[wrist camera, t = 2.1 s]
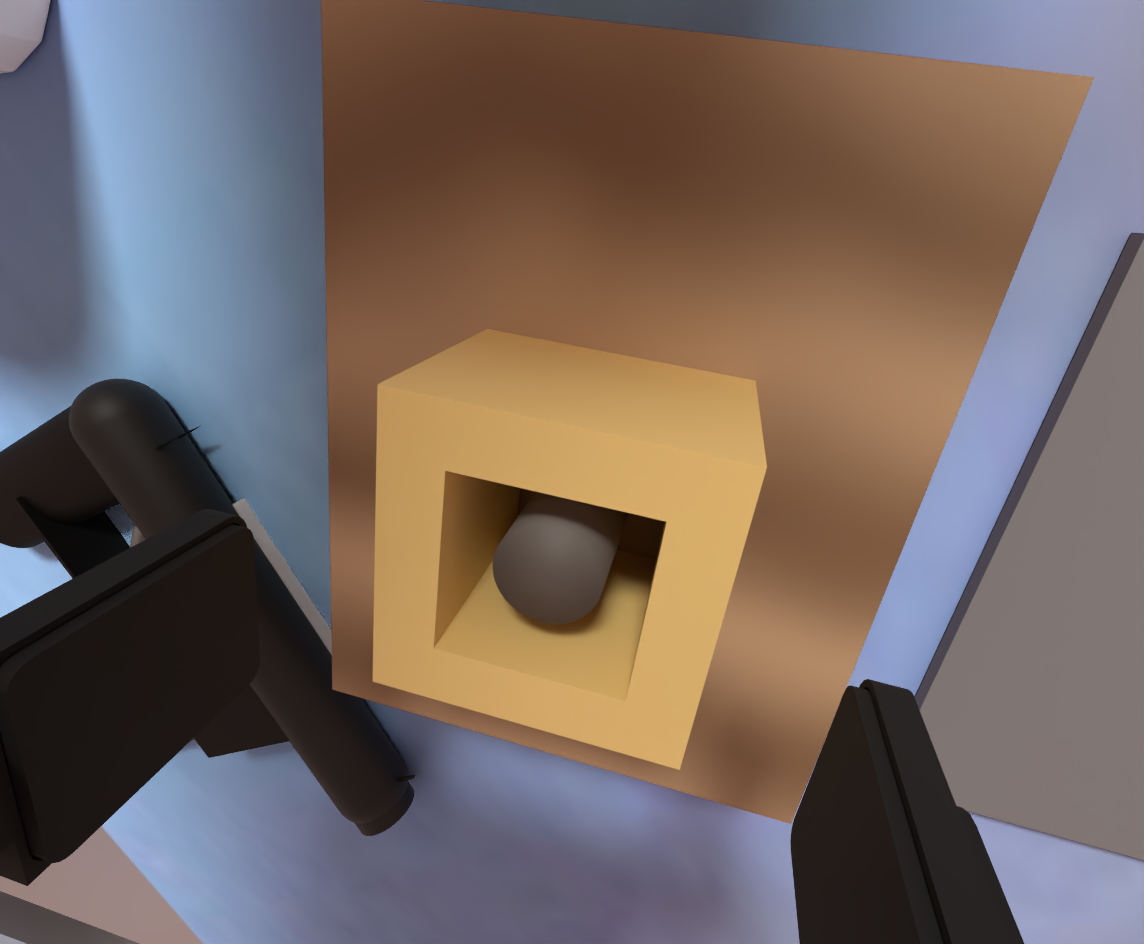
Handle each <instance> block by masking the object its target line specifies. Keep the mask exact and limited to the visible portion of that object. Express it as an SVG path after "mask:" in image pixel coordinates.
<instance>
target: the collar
mask: <svg viewBox="0 0 1144 944" xmlns="http://www.w3.org/2000/svg"><path fill="white" fill-rule="evenodd" d="M766 469H767V463H766V456H765V448H764V440H763V433H762V425H761V417H760V410H759V402H758V395H757V387H756V381H755V380H750V379H744V378H739V377H734V376H729V375H724V374H719V373H713V372H708V371H703V370H698V369H693V368H687V367H682V366H677V365H672V364H667V363H662V362H656V361H651V360H646V359H641V358H636V357H631V356H625V355H620V354H615V353H610V352H605V351H600V350H594V349H589V348H584V347H579V346H574V345H569V344H563V343H558V342H553V341H548V340H543V339H537V338H532V337H527V336H522V335H517V334H512V333H506V332H501V331H496V330H491V329H486V330H484V331H482V332H480V333H478V334H476V335H474V336H472V337H470V338H468V339H466V340H464V341H462V342H460V343H458V344H456V345H454V346H452V347H450V348H448V349H446V350H444V351H442V352H441V353H439V354H437V355H435V356H433V357H431V358H429V359H427V360H425V361H423V362H421V363H419V364H417V365H415V366H413V367H411V368H409V369H407V370H405V371H403V372H401V373H399V374H397V375H395V376H393V377H391V378H389V379H387V380H385V381H383V382H381V383H379V384H378V390H377V450H376V509H375V568H374V627H373V682H376V683H379V684H383V685H386V686H390V687H393V688H397V689H400V690H404V691H407V692H411V693H414V694H418V695H421V696H425V697H428V698H432V699H435V700H439V701H442V702H445V703H449V704H452V705H456V706H459V707H463V708H466V709H470V710H473V711H477V712H480V713H484V714H487V715H491V716H494V717H498V718H501V719H504V720H508V721H511V722H515V723H518V724H522V725H525V726H529V727H532V728H536V729H539V730H543V731H546V732H550V733H553V734H557V735H560V736H563V737H567V738H570V739H574V740H577V741H581V742H584V743H588V744H591V745H595V746H598V747H602V748H605V749H609V750H612V751H616V752H619V753H623V754H626V755H629V756H633V757H636V758H640V759H643V760H647V761H650V762H654V763H657V764H661V765H664V766H668V767H671V768H675V769H678V770H680V767H681V763H682V760H683V757H684V753H685V750H686V746H687V743H688V739H689V736H690V732H691V729H692V725H693V722H694V718H695V715H696V712H697V708H698V705H699V701H700V698H701V694H702V691H703V687H704V684H705V680H706V677H707V673H708V670H709V666H710V663H711V660H712V656H713V653H714V649H715V646H716V642H717V639H718V635H719V632H720V628H721V625H722V621H723V618H724V615H725V611H726V608H727V604H728V601H729V597H730V594H731V590H732V587H733V583H734V580H735V576H736V573H737V570H738V566H739V563H740V559H741V556H742V552H743V549H744V545H745V542H746V538H747V535H748V531H749V528H750V524H751V521H752V518H753V514H754V511H755V507H756V504H757V500H758V497H759V493H760V490H761V486H762V483H763V479H764V476H765V473H766ZM520 488H523V489H527V490H531V491H536V492H540V493H544V494H549V495H553V496H557V497H562V498H566V499H570V500H575V501H579V502H583V503H588V504H592V505H596V506H601V507H605V508H609V509H614V510H618V511H622V512H627V513H631V514H635V515H640V516H644V517H648V518H653V519H657V520H661V521H665V523H664V528H663V532H662V536H661V541H660V545H659V550H658V554H657V558H656V560H655V559H651V558H647V557H643V556H639V555H634V554H630V553H626V552H622V551H618V550H616V553H615V556H614V559H613V562H612V565H611V568H610V571H609V574H608V576H607V579H606V582H605V585H604V588H603V591H602V594H601V597H600V599H599V601H598V603H597V604H596V606H595V607H594V608H593V609H592V610H591V611H590V612H589V613H588V614H587V615H585V616H584V617H582V618H580V619H578V620H576V621H573V622H569V623H563V624H550V623H544V622H539V621H536V620H533V619H531V618H529V617H526V616H525V615H523V614H521V613H520V612H518V611H517V610H516V609H514V608H513V607H512V606H511V605H510V604H509V603H508V602H507V601H506V600H505V599H504V597H503V596H502V594H501V593H500V591H499V589H498V587H497V585H496V582H495V579H494V575H493V558H494V554H495V551H496V549H497V547H498V545H499V544H500V542H501V541H502V539H503V538H504V536H505V535H506V533H507V532H508V530H509V529H510V528H511V526H512V525H513V523H514V522H515V520H516V519H517V513H518V505H519V496H520Z"/></svg>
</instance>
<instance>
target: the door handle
mask: <svg viewBox="0 0 1144 944" xmlns="http://www.w3.org/2000/svg"><path fill="white" fill-rule="evenodd" d="M199 427H200V426H199ZM197 428H198V427H197ZM197 428H195V429H197ZM195 429H192V430H190V431H188V432H185V431H184V429H183V428H182V426H181V425H180V423H179V422H178V420H177V419H176V417H175V416H174V414H173V413H172V411H171V410H170V408H169V407H168V405H167V404H166V402H165V401H164V399H163V398H162V397H161V396H160V395H159V394H158V393H157V392H156V391H154V390H153V389H151V388H150V387H148V386H146V385H144V384H142V383H139V382H136V381H132V380H127V379H109V380H104V381H101V382H98V383H95V384H93V385H91V386H89V387H87V388H86V389H85V390H83V391H82V392H81V393H80V394H79V395H78V396H77V397H76V399H75V400H74V402H73V404H72V406H70V407H69V408H67V409H66V410H64V411H62V412H61V413H59V414H58V415H56V416H55V417H53V418H52V419H50V420H49V421H47V422H46V423H44V424H43V425H41V426H39V427H38V428H36V429H35V430H33V431H32V432H30V433H29V434H27V435H26V436H24V437H23V438H21V439H20V440H18V441H17V442H15V443H13V444H12V445H10V446H9V447H7V448H6V449H4V450H3V451H1V452H0V543H2V544H5V545H8V546H11V547H16V548H29V547H33V546H36V545H38V544H40V543H42V542H44V541H45V543H46V544H47V545H48V547H49V548H50V549H51V551H52V552H53V553H54V555H55V556H56V557H57V559H58V560H59V561H60V562H61V564H62V565H63V566H64V568H65V569H66V570H67V572H68V573H69V574H70V576H71V577H72V578H75V577H77V576H79V575H81V574H83V573H85V572H86V571H88V570H90V569H92V568H94V567H96V566H98V565H99V564H101V563H103V562H105V561H107V560H109V559H111V558H112V557H114V556H116V555H118V554H120V553H122V552H124V551H125V550H127V549H129V548H131V547H133V546H135V545H137V544H138V543H140V542H142V541H144V540H146V539H148V538H150V537H151V536H153V535H155V534H157V533H159V532H161V531H163V530H164V529H166V528H168V527H170V526H172V525H174V524H176V523H177V522H179V521H181V520H183V519H185V518H187V517H189V516H190V515H192V514H194V513H196V512H198V511H200V510H203V509H211V510H215V511H219V512H223V513H227V514H231V515H235V516H238V517H241V518H242V519H244V521H245V523H246V525H247V528H248V529H250V530H251V532H252V533H253V538H254V555H255V574H256V593H257V612H258V632H259V651H260V665H259V669H258V672H257V674H256V676H255V678H254V679H253V681H252V682H251V683H250V684H249V685H248V686H247V687H246V688H245V689H244V690H243V691H242V692H241V693H240V694H239V695H238V696H237V697H236V698H235V699H234V700H233V701H232V702H231V703H229V704H228V705H227V706H226V707H225V708H224V709H223V710H222V711H221V712H220V713H219V714H218V715H217V716H216V717H215V718H214V719H213V720H212V721H211V722H210V723H209V724H207V725H206V726H205V727H204V728H203V729H202V730H201V731H200V732H199V733H198V734H197V735H196V736H195V737H194V738H193V739H192V740H194V739H195V740H196V742H197V743H198V744H199V746H200V747H201V748H202V750H203V751H204V752H205V754H206V755H207V756H208V757H209V758H210V757H215V756H220V755H224V754H229V753H234V752H239V751H244V750H248V749H253V748H258V747H263V746H268V745H272V744H277V743H282V742H287V741H290V742H291V744H292V745H293V747H294V748H295V749H296V751H297V752H298V754H299V755H300V756H301V758H302V759H303V761H304V762H305V763H306V765H307V766H308V768H309V769H310V770H311V772H312V773H313V775H314V776H315V778H316V779H317V780H318V782H319V783H320V785H321V786H322V787H323V789H324V790H325V792H326V793H327V794H328V796H329V797H330V799H331V800H332V801H333V803H334V804H335V806H336V807H337V808H338V810H339V811H340V812H341V814H342V815H343V816H344V817H346V818H347V819H348V820H350V821H352V822H354V823H355V824H356V826H357V827H358V828H359V830H360V831H361V833H362V834H364V835H366V836H372V835H376V834H379V833H381V832H383V831H385V830H387V829H388V828H390V827H391V826H392V825H394V824H395V823H396V822H397V821H398V820H399V819H400V818H401V817H402V816H403V815H404V814H405V813H406V811H407V810H408V808H409V807H410V805H411V803H412V801H413V798H414V790H413V788H412V786H411V785H410V783H409V782H408V780H410V779H412V778H415V775H410V776H407V770H406V767H405V764H404V762H403V760H402V759H401V757H400V756H399V754H398V753H397V751H396V750H395V748H394V747H393V745H392V744H391V742H390V741H389V739H388V737H387V736H386V734H385V733H384V731H383V730H382V728H381V727H380V725H379V724H378V722H377V721H376V719H375V718H374V716H373V715H372V713H371V712H370V710H369V709H368V707H367V706H366V704H365V703H364V701H363V700H362V698H360V697H357V696H353V695H350V694H346V693H343V692H339V691H336V690H333V689H332V635H331V629H330V628H329V626H328V625H327V623H326V622H325V620H324V619H323V617H322V616H321V614H320V613H319V611H318V610H317V608H316V606H315V605H314V603H313V602H312V600H311V599H310V597H309V596H308V594H307V593H306V591H305V590H304V588H303V587H302V585H301V584H300V582H299V581H298V579H297V577H296V576H295V574H294V573H293V571H292V570H291V568H290V567H289V565H288V564H287V562H286V561H285V559H284V558H283V556H282V555H281V553H280V552H279V550H278V548H277V547H276V545H275V544H274V542H273V541H272V539H271V538H270V536H269V535H268V533H267V532H266V530H265V529H264V527H263V526H262V524H261V523H260V521H259V519H258V518H257V516H256V515H255V513H254V512H253V510H252V509H251V507H250V506H249V504H248V503H247V501H246V500H245V498H242V499H240V500H238V501H236V502H234V503H232V502H231V500H230V499H229V497H228V496H227V494H226V493H225V491H224V490H223V488H222V487H221V485H220V484H219V482H218V481H217V479H216V478H215V476H214V475H213V473H212V472H211V470H210V469H209V467H208V466H207V464H206V463H205V461H204V460H203V458H202V456H201V455H200V453H199V452H198V450H197V449H196V447H195V446H194V444H193V443H192V441H191V440H190V438H189V437H188V435H187V434H189V433H190V432H192V431H193V430H195ZM119 503H120V504H121V505H122V507H123V508H124V510H125V511H126V512H127V514H128V515H129V517H130V518H131V519H132V521H133V522H134V524H135V527H134V530H133V534H132V538H131V544H130V547H129V545H128V544H127V543H126V541H125V540H124V538H123V537H122V536H121V534H120V533H119V532H118V530H117V529H116V527H115V526H114V525H113V523H112V522H111V520H110V519H109V518H108V516H107V515H106V514H105V512H104V511H105V510H107V509H109V508H111V507H113V506H115V505H117V504H119Z"/></svg>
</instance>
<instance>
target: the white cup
mask: <svg viewBox="0 0 1144 944" xmlns="http://www.w3.org/2000/svg"><path fill="white" fill-rule="evenodd" d="M50 1H51V0H0V73H8V72H14V71H15V70H16V69H17V68H18V67H19V66H20V65H21V64H22V63H23V62H24V60H25V59H26V58H27V57H28V56H29V55H30V54H31V53H32V52H33V50H34V49H35V48H36V47H37V46H38V45H39V44H40V43H41V41H42V38H43V33H44V29H45V25H46V20H47V16H48V11H49V6H50Z"/></svg>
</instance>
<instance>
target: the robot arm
mask: <svg viewBox="0 0 1144 944" xmlns="http://www.w3.org/2000/svg"><path fill="white" fill-rule="evenodd" d="M259 665H260V651H259V632H258V612H257V593H256V574H255V555H254V538H253V533H252V532H251V530H250V529H248V528H247V525H246V523H245V521H244V519H242V518H241V517H238V516H235V515H231V514H227V513H223V512H219V511H215V510H211V509H203V510H200V511H198V512H196V513H194V514H192V515H190V516H189V517H187V518H185V519H183V520H181V521H179V522H177V523H176V524H174V525H172V526H170V527H168V528H166V529H164V530H163V531H161V532H159V533H157V534H155V535H153V536H151V537H150V538H148V539H146V540H144V541H142V542H140V543H138V544H137V545H135V546H133V547H131V548H129V549H127V550H125V551H124V552H122V553H120V554H118V555H116V556H114V557H112V558H111V559H109V560H107V561H105V562H103V563H101V564H99V565H98V566H96V567H94V568H92V569H90V570H88V571H86V572H85V573H83V574H81V575H79V576H77V577H75V578H73V579H72V580H70V581H68V582H66V583H64V584H62V585H60V586H59V587H57V588H55V589H53V590H51V591H49V592H47V593H46V594H44V595H42V596H40V597H38V598H36V599H34V600H33V601H31V602H29V603H27V604H25V605H23V606H21V607H20V608H18V609H16V610H14V611H12V612H10V613H8V614H7V615H5V616H3V617H1V618H0V876H3V877H6V878H8V879H10V880H13V881H16V882H18V883H21V884H24V885H26V886H28V885H29V884H30V883H31V882H32V881H33V880H35V878H37V877H38V876H39V875H40V874H41V873H42V872H43V871H44V870H45V869H46V868H47V867H48V866H49V865H50V864H52V863H56V862H60V861H62V860H64V859H65V858H67V857H68V856H69V855H71V854H72V853H73V852H74V851H75V850H76V849H78V847H80V846H81V845H82V844H83V843H84V842H85V841H86V840H87V839H88V838H89V837H90V836H91V835H92V834H93V833H94V832H95V831H96V830H97V829H98V828H100V827H101V826H102V825H103V824H104V823H105V822H106V821H107V820H108V819H109V818H110V817H111V816H112V815H113V814H114V813H115V812H116V811H117V810H118V809H119V808H120V807H122V806H123V805H124V804H125V803H126V802H127V801H128V800H129V799H130V798H131V797H132V796H133V795H134V794H135V793H136V792H137V791H138V790H139V789H140V788H141V787H142V786H144V785H145V784H146V783H147V782H148V781H149V780H150V779H151V778H152V777H153V776H154V775H155V774H156V773H157V772H158V771H159V770H160V769H161V768H162V767H163V766H164V765H166V764H167V763H168V762H169V761H170V760H171V759H172V758H173V757H174V756H175V755H176V754H177V753H178V752H179V751H180V750H181V749H182V748H183V747H184V746H185V745H187V744H188V743H189V742H190V741H191V740H192V739H193V738H194V737H195V736H196V735H197V734H198V733H199V732H200V731H201V730H202V729H203V728H204V727H205V726H206V725H207V724H209V723H210V722H211V721H212V720H213V719H214V718H215V717H216V716H217V715H218V714H219V713H220V712H221V711H222V710H223V709H224V708H225V707H226V706H227V705H228V704H229V703H231V702H232V701H233V700H234V699H235V698H236V697H237V696H238V695H239V694H240V693H241V692H242V691H243V690H244V689H245V688H246V687H247V686H248V685H249V684H250V683H251V682H252V681H253V679H254V678H255V676H256V674H257V672H258V669H259ZM791 856H792V866H793V877H794V888H795V898H796V909H797V919H798V930H799V941H800V944H1024V942H1023V939H1022V937H1021V935H1020V932H1019V930H1018V927H1017V925H1016V922H1015V920H1014V917H1013V915H1012V912H1011V910H1010V907H1009V905H1008V903H1007V900H1006V898H1005V895H1004V893H1003V890H1002V888H1001V885H1000V883H999V880H998V878H997V875H996V873H995V871H994V868H993V866H992V863H991V861H990V858H989V856H988V853H987V851H986V848H985V846H984V843H983V841H982V839H981V836H980V834H979V831H978V829H977V826H976V824H975V822H974V821H973V819H972V817H971V815H970V814H969V813H968V812H967V811H966V810H965V809H964V808H962V807H959V806H956V803H955V801H954V798H953V796H952V793H951V790H950V788H949V785H948V783H947V780H946V778H945V775H944V772H943V770H942V767H941V765H940V762H939V759H938V757H937V754H936V752H935V749H934V746H933V744H932V741H931V739H930V736H929V733H928V731H927V728H926V726H925V723H924V720H923V718H922V715H921V713H920V710H919V708H918V705H917V702H916V700H915V697H914V695H913V694H912V692H911V691H909V690H908V689H904V688H900V687H896V686H892V685H888V684H884V683H881V682H877V681H873V680H869V679H867V680H864V681H863V682H862V683H861V685H860V687H859V688H858V687H854V686H848V687H847V688H846V690H845V692H844V694H843V696H842V699H841V701H840V704H839V706H838V709H837V711H836V714H835V717H834V719H833V722H832V724H831V727H830V729H829V732H828V734H827V737H826V740H825V742H824V745H823V747H822V750H821V752H820V755H819V757H818V760H817V762H816V765H815V768H814V770H813V773H812V775H811V778H810V780H809V783H808V785H807V788H806V791H805V793H804V796H803V798H802V801H801V803H800V806H799V808H798V811H797V813H796V816H795V819H794V822H793V826H792V832H791ZM0 944H139V943H136V942H134V941H131V940H128V939H126V938H123V937H120V936H118V935H115V934H112V933H110V932H107V931H105V930H102V929H99V928H97V927H94V926H91V925H89V924H86V923H83V922H81V921H78V920H75V919H72V918H70V917H67V916H65V915H62V914H59V913H57V912H54V911H51V910H49V909H46V908H44V907H41V906H38V905H36V904H33V903H30V902H28V901H25V900H22V899H20V898H17V897H14V896H11V895H9V894H6V893H4V892H1V891H0Z"/></svg>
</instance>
